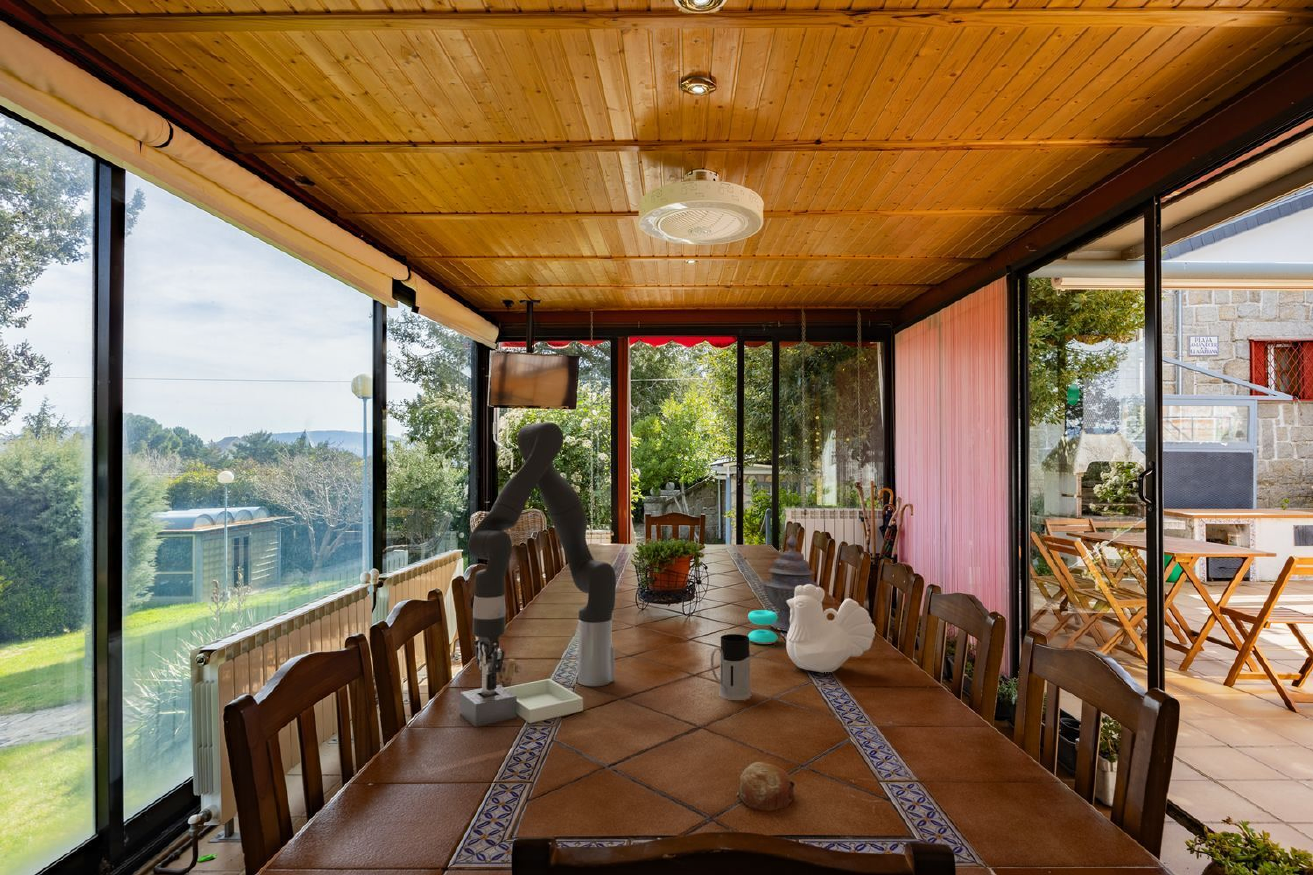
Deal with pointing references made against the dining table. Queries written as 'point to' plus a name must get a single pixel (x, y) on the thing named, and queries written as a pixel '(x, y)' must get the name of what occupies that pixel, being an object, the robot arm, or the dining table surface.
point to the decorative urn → (787, 581)
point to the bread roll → (765, 787)
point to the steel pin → (485, 692)
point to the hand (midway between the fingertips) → (488, 686)
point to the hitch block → (488, 706)
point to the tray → (545, 700)
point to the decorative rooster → (825, 631)
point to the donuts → (762, 619)
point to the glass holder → (733, 667)
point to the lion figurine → (508, 671)
